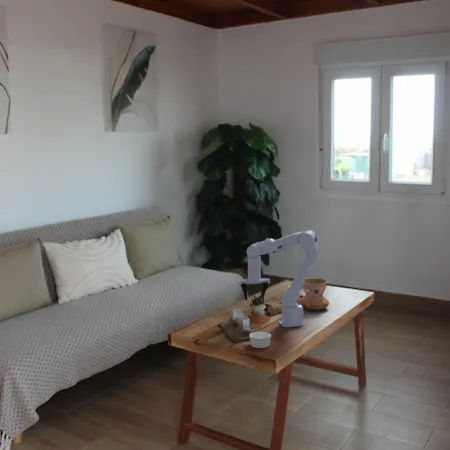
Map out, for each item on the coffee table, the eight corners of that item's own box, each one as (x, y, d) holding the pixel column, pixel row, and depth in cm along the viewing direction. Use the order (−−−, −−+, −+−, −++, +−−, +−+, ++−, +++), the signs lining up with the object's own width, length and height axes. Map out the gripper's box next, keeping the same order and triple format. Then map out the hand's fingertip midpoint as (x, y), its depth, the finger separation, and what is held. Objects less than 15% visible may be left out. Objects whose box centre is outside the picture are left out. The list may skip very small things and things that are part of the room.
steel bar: (233, 320, 272) (233, 309, 272) (239, 319, 273) (239, 308, 272) (243, 331, 257) (243, 319, 256) (249, 330, 258) (249, 319, 257)
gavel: (243, 300, 304) (256, 297, 310) (243, 309, 304) (257, 305, 311) (274, 306, 288) (288, 302, 295) (274, 316, 289) (288, 311, 296)
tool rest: (248, 322, 279) (248, 312, 278) (264, 339, 256) (264, 328, 255) (218, 324, 275) (218, 315, 275) (232, 342, 252) (232, 331, 252)
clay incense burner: (319, 315, 289) (320, 286, 287) (292, 310, 297) (293, 282, 295) (335, 306, 304) (336, 278, 301) (309, 301, 312) (310, 274, 310)
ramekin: (244, 345, 249) (244, 335, 248) (259, 340, 255) (259, 330, 255) (260, 350, 243) (260, 340, 242) (275, 345, 249) (275, 335, 248)
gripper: (240, 273, 271) (240, 302, 273) (272, 271, 274) (271, 300, 276) (237, 269, 278) (237, 298, 280) (267, 268, 281) (267, 296, 283)
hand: (254, 299), depth 279 cm, fingers open, 7 cm apart
